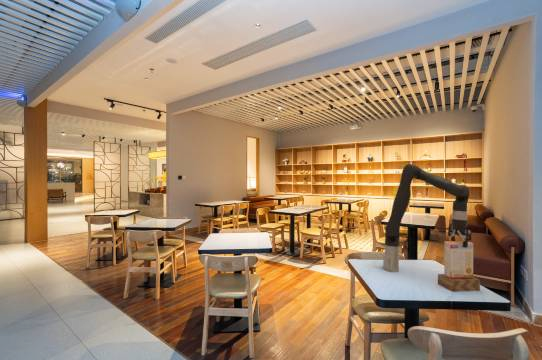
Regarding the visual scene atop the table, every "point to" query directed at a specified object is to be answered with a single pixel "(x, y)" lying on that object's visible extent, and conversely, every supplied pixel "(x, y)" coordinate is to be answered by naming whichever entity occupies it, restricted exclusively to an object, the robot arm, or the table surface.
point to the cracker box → (458, 259)
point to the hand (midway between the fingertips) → (459, 245)
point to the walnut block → (458, 283)
